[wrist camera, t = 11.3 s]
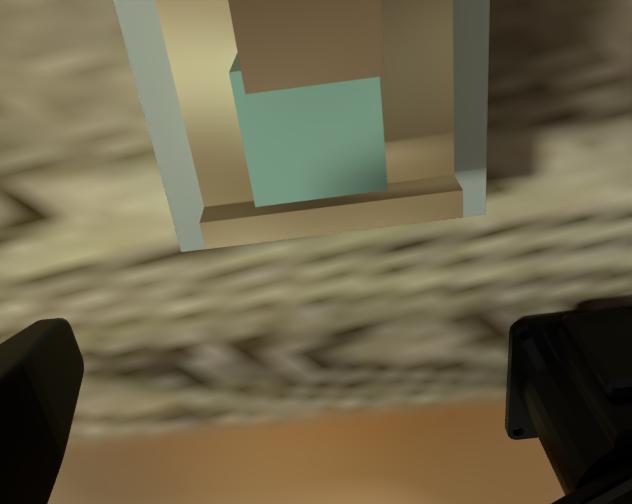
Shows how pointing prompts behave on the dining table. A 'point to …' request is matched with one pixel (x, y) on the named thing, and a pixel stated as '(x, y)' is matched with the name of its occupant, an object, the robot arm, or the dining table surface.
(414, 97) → the tray
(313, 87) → the block
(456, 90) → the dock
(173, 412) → the dining table surface
